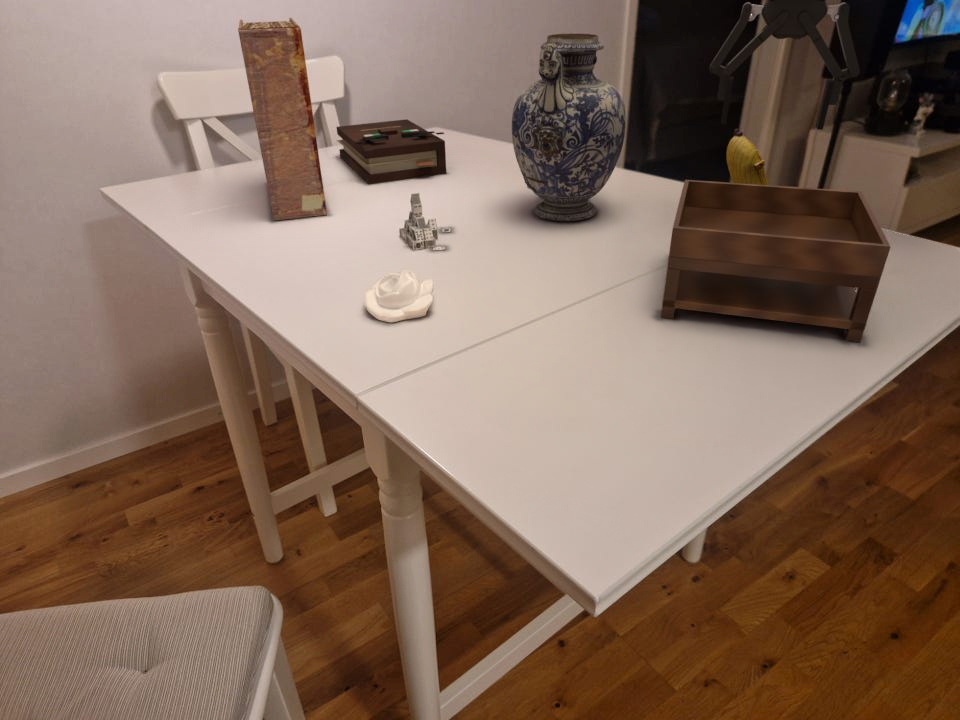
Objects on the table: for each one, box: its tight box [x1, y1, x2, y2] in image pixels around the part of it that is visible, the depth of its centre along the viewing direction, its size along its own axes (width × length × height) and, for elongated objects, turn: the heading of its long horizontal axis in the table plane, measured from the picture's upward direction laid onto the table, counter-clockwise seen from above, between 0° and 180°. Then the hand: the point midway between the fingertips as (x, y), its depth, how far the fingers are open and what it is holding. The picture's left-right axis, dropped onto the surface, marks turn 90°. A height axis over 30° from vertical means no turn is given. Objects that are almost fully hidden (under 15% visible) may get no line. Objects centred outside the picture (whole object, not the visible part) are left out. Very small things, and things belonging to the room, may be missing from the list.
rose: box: [363, 269, 434, 323], centre depth 84 cm, size 10×4×10 cm
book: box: [237, 17, 328, 222], centre depth 118 cm, size 25×9×30 cm, turn 17°
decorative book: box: [336, 119, 447, 185], centre depth 144 cm, size 19×8×30 cm
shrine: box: [726, 128, 770, 185], centre depth 104 cm, size 12×8×15 cm
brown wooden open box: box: [660, 179, 891, 343], centre depth 82 cm, size 22×20×12 cm
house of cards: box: [398, 192, 451, 251], centre depth 103 cm, size 9×9×8 cm
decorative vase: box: [511, 33, 627, 223], centre depth 108 cm, size 21×19×28 cm
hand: (770, 125), depth 100 cm, fingers open, 13 cm apart
